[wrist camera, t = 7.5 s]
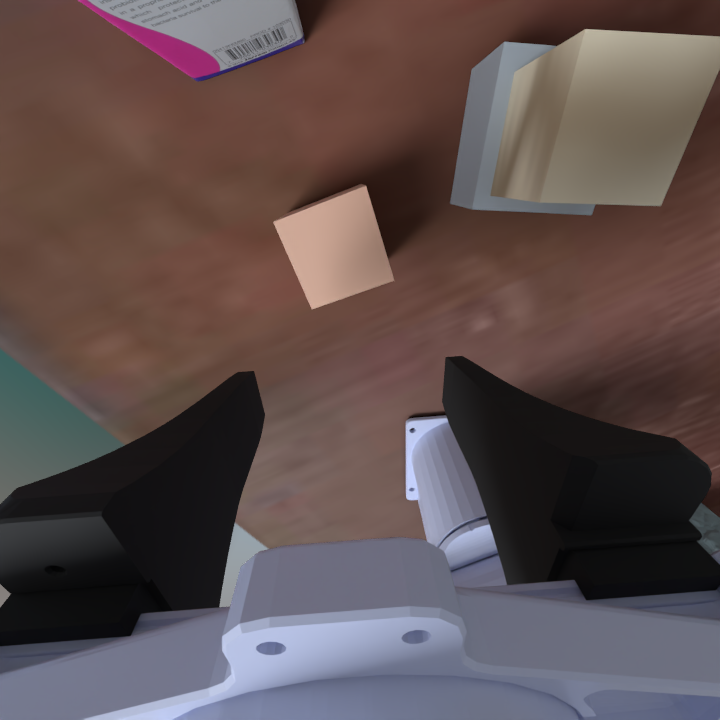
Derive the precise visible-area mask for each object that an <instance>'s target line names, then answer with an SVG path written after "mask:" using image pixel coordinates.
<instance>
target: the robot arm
mask: <svg viewBox="0 0 720 720" xmlns="http://www.w3.org/2000/svg"><path fill="white" fill-rule="evenodd" d="M442 402H443V406H444V409H445V413H446V415H444V416H431V417H419V418H410V419H408V420H407V421H406V497H407V499H408V500H418V502H419V507H420V511H421V516H422V520H423V524H424V529H425V533H426V538H427V541H425V540H423V539H418V538H406V537H390V538H377V539H363V540H350V541H337V542H324V543H311V544H298V545H285V546H280V547H276V548H272V549H268V550H264V551H260V552H258V553H257V554H255V555H254V556H253V557H252V558H251V559H249V560H248V561H247V562H246V563H245V564H243V565H242V566H241V568H240V572H239V575H238V579H237V583H236V587H235V590H234V594H233V598H232V602H231V605H230V607H219V604H220V598H221V591H222V585H223V579H224V574H225V568H226V563H227V557H228V552H229V547H230V542H231V537H232V532H233V527H234V523H235V519H236V514H237V510H238V505H239V501H240V498H241V494H242V491H243V488H244V485H245V482H246V479H247V476H248V473H249V470H250V468H251V465H252V462H253V459H254V456H255V453H256V450H257V447H258V444H259V441H260V438H261V434H262V429H263V423H264V417H265V413H264V409H263V405H262V401H261V397H260V393H259V389H258V385H257V381H256V377H255V373H254V371H248V372H237V373H236V374H234V375H233V376H231V377H230V378H228V379H227V380H226V381H224V382H223V383H222V384H221V385H219V386H218V387H217V388H215V389H214V390H213V391H211V392H210V393H209V394H207V395H206V396H205V397H203V398H202V399H201V400H200V401H198V402H197V403H195V404H194V405H192V406H191V407H190V408H188V409H187V410H185V411H184V412H182V413H181V414H180V415H178V416H177V417H175V418H174V419H172V420H170V421H169V422H167V423H166V424H164V425H162V426H160V427H159V428H157V429H155V430H154V431H152V432H150V433H148V434H147V435H145V436H143V437H141V438H139V439H137V440H135V441H133V442H131V443H129V444H127V445H125V446H123V447H121V448H119V449H117V450H115V451H113V452H111V453H108V454H106V455H104V456H102V457H99V458H97V459H95V460H92V461H90V462H88V463H85V464H82V465H80V466H78V467H75V468H72V469H70V470H67V471H65V472H62V473H59V474H56V475H53V476H51V477H48V478H46V479H42V480H39V481H36V482H34V483H31V484H28V485H25V486H22V487H19V488H17V489H16V490H14V491H13V492H12V493H11V494H10V495H9V496H8V497H7V498H6V499H5V500H4V501H3V502H2V503H1V504H0V584H1V585H2V586H3V587H4V588H5V589H6V590H7V591H8V592H10V593H12V594H11V595H10V596H9V597H8V599H7V600H6V601H5V602H4V604H3V605H2V606H1V607H0V720H720V549H719V550H717V551H715V552H713V553H711V554H709V553H708V552H707V551H706V550H705V549H704V548H703V547H702V546H701V545H700V544H699V543H698V542H697V541H698V540H700V539H701V538H702V534H701V532H700V531H699V530H698V529H697V528H696V527H695V526H694V525H693V524H692V523H691V522H690V521H689V520H690V518H691V517H692V516H693V514H694V513H695V511H696V510H697V508H698V507H699V505H700V504H701V502H702V501H703V499H704V498H705V496H706V494H707V492H708V490H709V488H710V486H711V475H712V473H711V471H710V468H709V466H708V465H707V464H706V463H705V462H704V461H702V460H701V459H700V458H699V457H697V456H696V455H695V454H694V453H693V452H691V451H690V450H689V449H688V448H686V447H685V446H684V445H683V444H681V443H680V442H679V441H678V440H676V439H675V438H670V437H665V436H660V435H656V434H651V433H646V432H641V431H637V430H632V429H628V428H624V427H620V426H616V425H613V424H609V423H605V422H601V421H598V420H595V419H592V418H588V417H585V416H582V415H579V414H576V413H574V412H571V411H568V410H565V409H562V408H560V407H557V406H554V405H552V404H550V403H547V402H545V401H543V400H540V399H538V398H536V397H534V396H532V395H529V394H527V393H525V392H523V391H521V390H520V389H518V388H516V387H514V386H512V385H510V384H508V383H507V382H505V381H503V380H501V379H500V378H498V377H496V376H495V375H493V374H491V373H490V372H488V371H486V370H485V369H483V368H482V367H480V366H478V365H477V364H475V363H473V362H472V361H470V360H468V359H467V358H465V357H463V356H455V357H446V360H445V373H444V386H443V399H442ZM411 428H414V429H413V430H410V429H411Z"/></svg>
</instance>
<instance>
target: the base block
mask: <svg viewBox="0 0 720 720" xmlns="http://www.w3.org/2000/svg"><path fill="white" fill-rule="evenodd" d="M555 47H557V46H552V45H540V44H527V43H515V42H503V43H502V44H501V45H500V46H499V47H498V48H496V49H495V50H494V51H493V52H492V53H490V54H489V55H488V56H487V57H486V58H484V59H483V60H482V61H481V62H480V63H479V64H477V65H476V66H475V67H474V68H473V69H472V71H471V77H470V83H469V90H468V96H467V102H466V108H465V114H464V120H463V126H462V133H461V139H460V145H459V151H458V157H457V163H456V170H455V176H454V182H453V188H452V194H451V200H450V204H453V205H457V206H461V207H465V208H469V209H474V210H495V211H515V212H535V213H556V214H576V215H592V213H593V210H594V207H595V204H571V203H539V202H531V201H524V200H517V199H510V198H503V197H495V196H490V194H491V189H492V184H493V179H494V174H495V169H496V164H497V159H498V153H499V148H500V143H501V138H502V133H503V128H504V123H505V118H506V113H507V108H508V103H509V98H510V93H511V88H512V82H513V77H514V72H515V71H517V70H519V69H520V68H522V67H524V66H525V65H527V64H529V63H530V62H532V61H534V60H535V59H537V58H539V57H540V56H542V55H543V54H545V53H547V52H548V51H550V50H552V49H553V48H555Z"/></svg>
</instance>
